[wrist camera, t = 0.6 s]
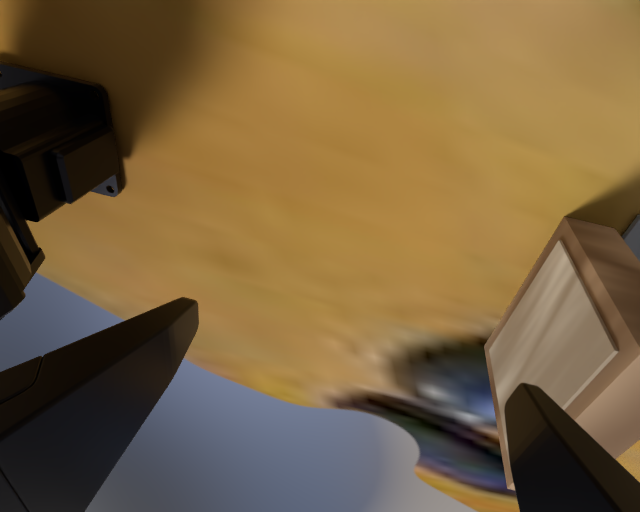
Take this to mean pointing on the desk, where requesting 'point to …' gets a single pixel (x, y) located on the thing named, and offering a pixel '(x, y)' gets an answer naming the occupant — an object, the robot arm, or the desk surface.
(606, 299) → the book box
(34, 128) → the robot arm
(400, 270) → the desk surface
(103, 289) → the desk surface
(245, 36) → the desk surface
